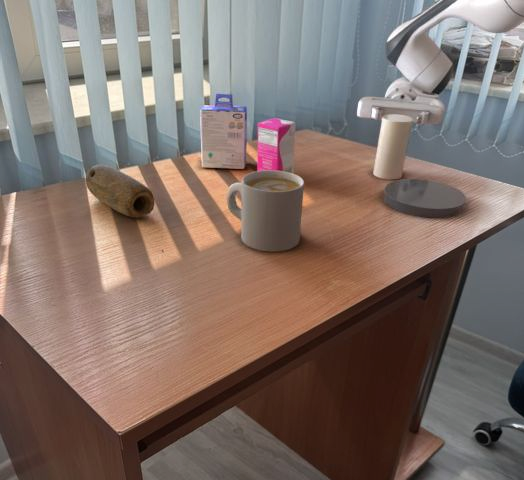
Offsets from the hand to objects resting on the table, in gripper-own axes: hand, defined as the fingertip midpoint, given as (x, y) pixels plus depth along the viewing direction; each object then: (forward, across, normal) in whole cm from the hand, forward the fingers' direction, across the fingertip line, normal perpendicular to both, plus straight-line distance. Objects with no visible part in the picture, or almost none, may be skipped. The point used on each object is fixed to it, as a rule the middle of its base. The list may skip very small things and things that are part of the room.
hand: (399, 118), depth 119 cm
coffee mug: (+49, -20, +10) cm, 54 cm away
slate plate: (+24, +7, +10) cm, 27 cm away
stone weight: (+46, -48, +10) cm, 67 cm away
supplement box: (+21, -24, +10) cm, 33 cm away
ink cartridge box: (+16, -37, +10) cm, 41 cm away
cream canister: (+10, 0, +10) cm, 14 cm away
